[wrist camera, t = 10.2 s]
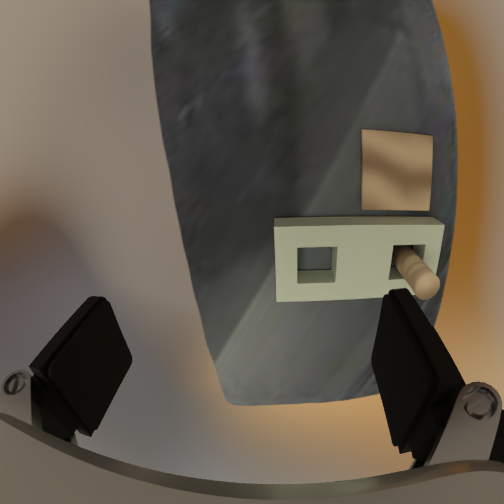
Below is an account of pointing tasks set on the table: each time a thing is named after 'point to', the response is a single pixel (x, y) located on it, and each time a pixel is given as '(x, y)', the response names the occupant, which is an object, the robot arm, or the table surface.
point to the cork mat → (396, 170)
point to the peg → (415, 272)
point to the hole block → (350, 254)
